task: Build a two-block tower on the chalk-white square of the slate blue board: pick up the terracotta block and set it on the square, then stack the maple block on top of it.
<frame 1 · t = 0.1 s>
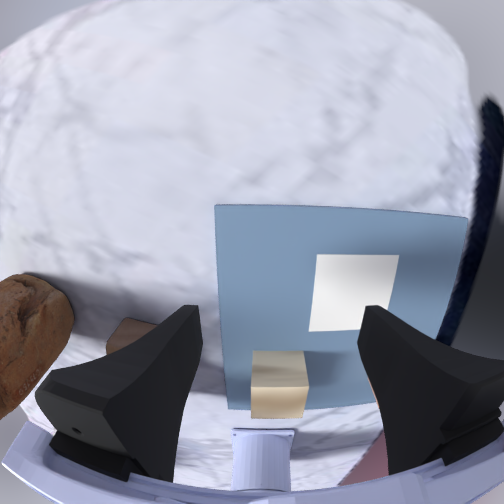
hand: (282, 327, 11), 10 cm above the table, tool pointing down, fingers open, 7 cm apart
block: (46, 300, 24), on the table
wooden block: (148, 353, 25), on the table
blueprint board: (344, 330, 23), on the table
maple block: (276, 368, 24), point 1 cm above the table, touching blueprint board
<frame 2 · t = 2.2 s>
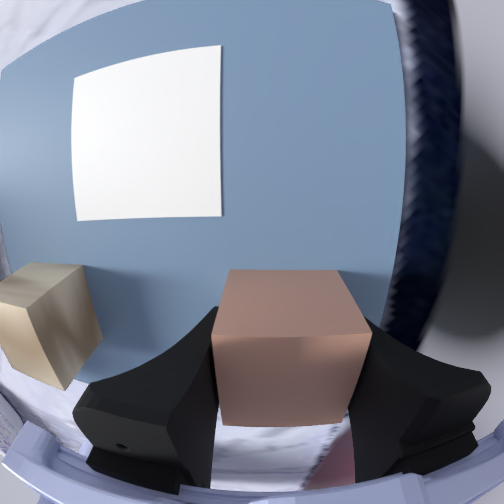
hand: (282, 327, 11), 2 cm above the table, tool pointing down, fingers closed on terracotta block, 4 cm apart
terracotta block: (281, 315, 12), point 1 cm above the table, touching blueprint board, gripper
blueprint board: (147, 225, 11), on the table
maple block: (63, 300, 12), point 1 cm above the table, touching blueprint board
paper bowls: (1, 400, 22), on the table
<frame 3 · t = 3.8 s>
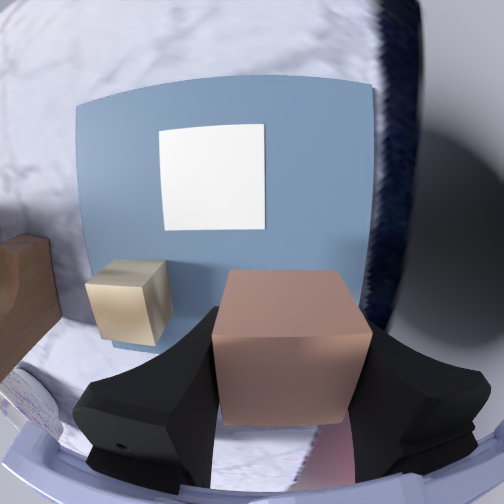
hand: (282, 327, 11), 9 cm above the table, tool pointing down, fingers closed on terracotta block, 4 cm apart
terracotta block: (282, 315, 12), point 8 cm above the table, touching gripper
wooden block: (42, 275, 22), on the table
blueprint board: (215, 233, 19), on the table
maple block: (143, 286, 20), point 1 cm above the table, touching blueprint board
paper bowls: (37, 389, 30), on the table
when the fingers open (3 cm above the table, at t = 5.8 s): terracotta block stays where it is, resting on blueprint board.
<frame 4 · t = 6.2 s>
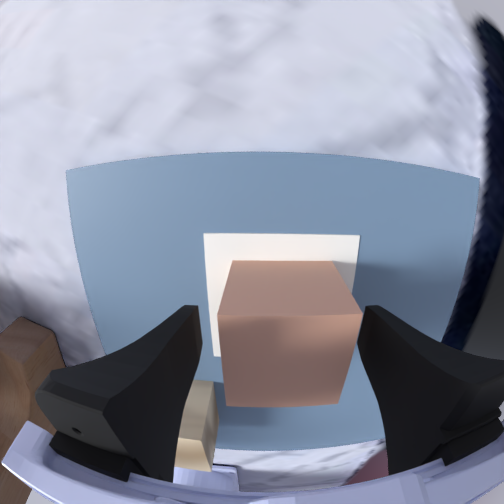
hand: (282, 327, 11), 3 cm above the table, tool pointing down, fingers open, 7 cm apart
terracotta block: (281, 304, 13), point 1 cm above the table, touching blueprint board
wooden block: (51, 361, 17), on the table
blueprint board: (276, 356, 15), on the table
maple block: (183, 399, 16), point 1 cm above the table, touching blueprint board
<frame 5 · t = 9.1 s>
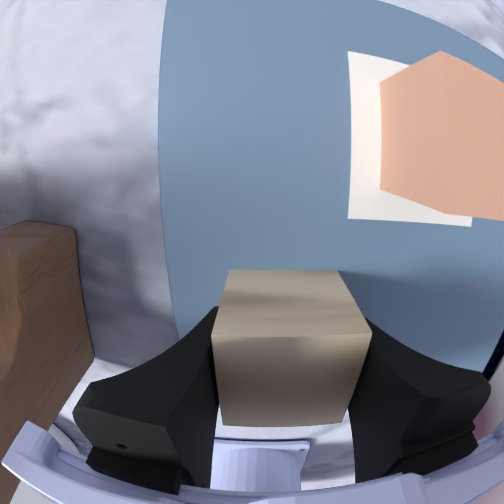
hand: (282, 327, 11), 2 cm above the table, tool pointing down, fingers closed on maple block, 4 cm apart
terracotta block: (425, 142, 9), point 1 cm above the table, touching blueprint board
wooden block: (60, 292, 13), on the table
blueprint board: (411, 229, 11), on the table
maple block: (281, 315, 12), point 1 cm above the table, touching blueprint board, gripper
paper bowls: (48, 427, 21), on the table
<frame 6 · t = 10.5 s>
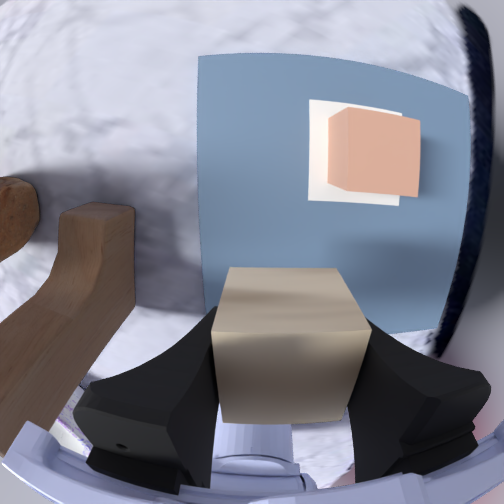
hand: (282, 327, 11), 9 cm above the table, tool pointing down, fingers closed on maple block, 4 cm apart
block: (16, 207, 20), on the table
terracotta block: (359, 153, 17), point 1 cm above the table, touching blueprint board
wooden block: (114, 254, 21), on the table
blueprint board: (352, 207, 19), on the table
maple block: (281, 313, 12), point 8 cm above the table, touching gripper
paper bowls: (71, 392, 29), on the table
when the fingers open (7 cm above the table, at t = 12.2 s): maple block stays where it is, resting on terracotta block.
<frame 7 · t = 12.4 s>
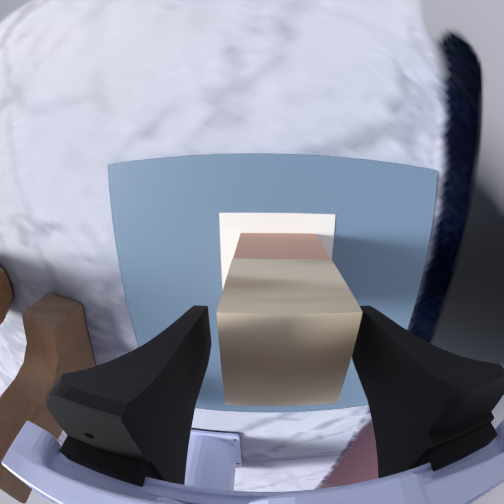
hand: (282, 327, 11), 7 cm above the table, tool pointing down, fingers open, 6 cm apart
terracotta block: (276, 267, 17), point 1 cm above the table, touching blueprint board, maple block
wooden block: (74, 333, 21), on the table
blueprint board: (274, 315, 19), on the table
maple block: (280, 302, 13), point 5 cm above the table, touching terracotta block
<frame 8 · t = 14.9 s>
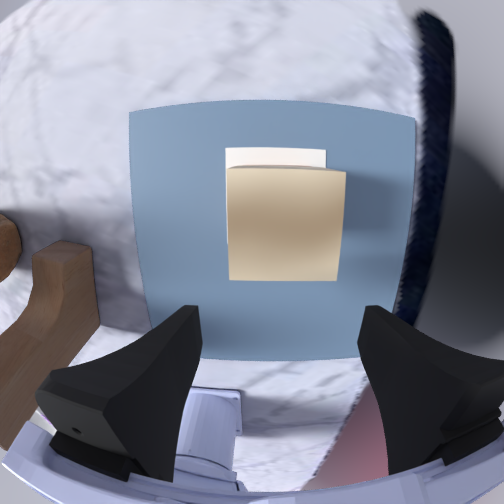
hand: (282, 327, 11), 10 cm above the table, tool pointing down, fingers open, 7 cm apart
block: (3, 238, 22), on the table
wooden block: (80, 283, 23), on the table
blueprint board: (274, 247, 21), on the table
maple block: (279, 206, 15), point 5 cm above the table, touching terracotta block
paper bowls: (58, 394, 31), on the table
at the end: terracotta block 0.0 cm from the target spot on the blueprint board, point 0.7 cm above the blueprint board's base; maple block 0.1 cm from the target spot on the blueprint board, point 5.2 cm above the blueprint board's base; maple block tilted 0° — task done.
